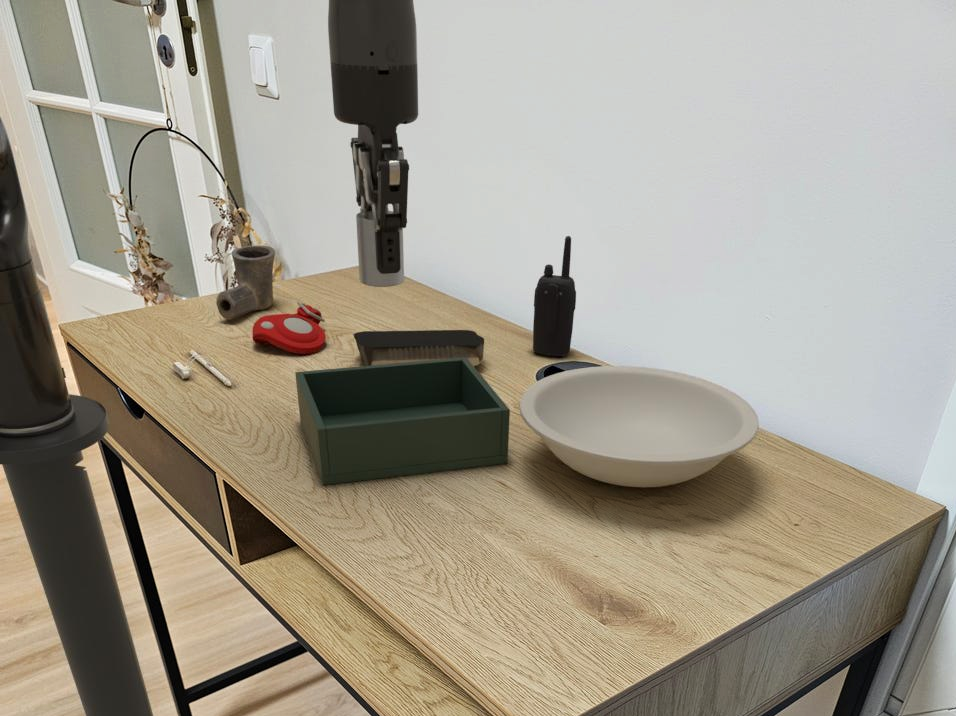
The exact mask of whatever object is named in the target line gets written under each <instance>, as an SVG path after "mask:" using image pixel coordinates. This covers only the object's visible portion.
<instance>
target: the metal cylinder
mask: <svg viewBox="0 0 956 716" xmlns="http://www.w3.org/2000/svg"><path fill="white" fill-rule="evenodd" d="M386 214H393V210H388V211H386ZM355 222H356V239H357V256H358V257H357V258H358V273H359V274H358V275H359V282H360V284H363V285H365V286H369V287H375V288H388V287H389V288H391V287H395V286H399V285H401V284H403V283H404V282H405V261H404V260H405V255H404V228H402V230H401V231H399V233H400V263H401V269H400V271H399V272H398V273H389V274H381V273H380V272H379V271H378V270H377V265H376V245H375V228H374V227H373V222H374V220H373V211H372V210H371V211H364V212H358V213H356V215H355Z"/></svg>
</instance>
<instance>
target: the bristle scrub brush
mask: <svg viewBox="0 0 956 716" xmlns="http://www.w3.org/2000/svg"><path fill="white" fill-rule="evenodd" d="M353 338H354V339H355V343H356V347H357V350H358V352H359V356H360V360H361V363H362V364H363V366H371V365H383V364H395V363H406V362H418V361H429V360H441V359H452V358H464V357H466V358H467V359H468V360H469V361H470V362H471V364H472V365H473V366H474V367H477V366H478V365H480V364H481V363H482V361H483V359H484V351H485V338H484V337H483V336H481V335H479V334H477V332H476V331H474V330H470V329H469V330H468V329H442V330H441V329H437V330H436V329H434V330H433V329H432V330H431V329H429V330H428V329H427V330H425V329H424V330H364V331H358V332H355V333H353Z"/></svg>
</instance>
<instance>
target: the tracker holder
mask: <svg viewBox="0 0 956 716" xmlns="http://www.w3.org/2000/svg"><path fill="white" fill-rule="evenodd" d="M296 304H297V306H298V308H297V309H296V311H297V312H295V313H277V314H276V313H275V314H268V315H263V316H260V317H259V318H258V319H257V320H256V321H255V322H254V323H253V325H252V341H253V342H254V343H255V344H256V345H259V346H266V345H270V344H271V345H274V346H275V347H278V348H280V349H283V350H285V351H288V352H290V353H294V354H300V355H309V354H314V353H317V352H319V351H322V349H323V348H324V347H325V343H326V339H327V337H326V332H325V331H324V329H323V328H322V327H321V326H320V324H321V322H322V323H325V322H326V320H325V318H324V317H323V316H322V313H321V311H320V309H318V308H316V307H314V306H312V305H310V304H305V303H303V302H301V301H300V300H298V301H296Z"/></svg>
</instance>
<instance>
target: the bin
mask: <svg viewBox="0 0 956 716" xmlns="http://www.w3.org/2000/svg"><path fill="white" fill-rule="evenodd" d="M295 383H296V391H297V392H296V394H297V402H298V410H299V411H298V412H299V420H300V424H301V428H302V431H303V433H304V436H305V439H306V442H307V445H308V447H309V450H310V454H311V456H312V459H313V462H314V465H315V467H316V469H317V472H318V473H317V474H318V475H319V479H320V482H321V484H322V486H327V485H336V484H345V483H352V482H354V483H355V482H361V481H362V482H363V481H370V480H377V479H385V478H386V479H387V478H395V477H404V476H411V475H421V474H427V473H436V472H437V473H438V472H446V471H453V470H461V469H472V468H479V467H486V466H487V467H488V466H495V465H496V466H497V465H503V464H508V461H509V455H508V454H509V440H510V439H509V436H510V415H511V410H510V407H508V406H507V404H506V403H505V402H504V401H503V399H502V398H501V397H500V396H499V395H498V394H497V392H496V390H494V389H493V387H491V385H490V384H489V382H487V380H486V379H485V378H484V377H483V376H482V375H481V373H480V372H479V370H477V368H476V366H473V365H472V364H471V362H470V361H469V360H468V359H467V358H466V357H464V358H452V359H441V360H429V361H418V362H406V363H395V364H383V365H371V366H366V365H362V366H350V367H338V368H337V367H336V368H328V369H327V368H326V369H316V370H305V371H304V370H303V371H295Z"/></svg>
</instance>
